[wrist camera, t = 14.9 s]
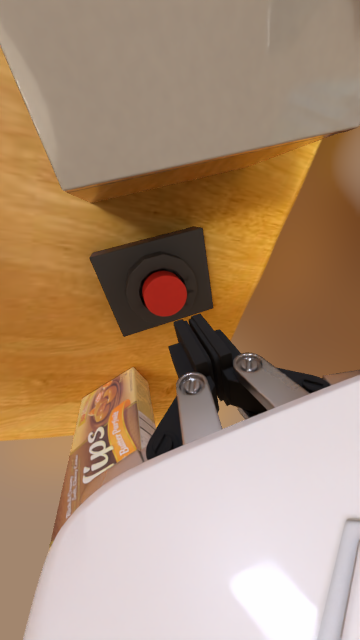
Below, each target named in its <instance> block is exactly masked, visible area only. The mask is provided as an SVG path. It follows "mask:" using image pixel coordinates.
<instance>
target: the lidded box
mask: <svg viewBox="0 0 360 640" xmlns="http://www.w3.org/2000/svg"><path fill="white" fill-rule="evenodd" d="M332 135H334V134H332ZM328 136H331V135H328ZM328 136H323V137H319V138H314V139H309V140H305V141H300V142H296V143H291V144H287V145H282V146H277V147H273V148H268V149H264V150H259V151H255V152H250V153H245V154H241V155H236V156H232V157H227V158H223V159H218V160H213V161H209V162H204V163H200V164H195V165H190V166H186V167H181V168H177V169H172V170H168V171H163V172H158V173H154V174H149V175H145V176H140V177H136V178H131V179H126V180H122V181H117V182H113V183H108V184H104V185H99V186H94V187H90V188H85V189H81V190H76V191H71V192H67V193H69V194H71V195H73V196H76V197H78V198H80V199H83V200H85V201H87V202H90V203H94V202H99V201H103V200H107V199H112V198H116V197H121V196H125V195H129V194H134V193H138V192H142V191H147V190H151V189H155V188H160V187H164V186H169V185H173V184H177V183H182V182H186V181H190V180H195V179H199V178H203V177H208V176H212V175H217V174H221V173H225V172H230V171H234V170H238V169H243V168H246V167H249V166H252V165H254V164H257V163H260V162H262V161H265V160H268V159H270V158H273V157H276V156H278V155H281V154H284V153H286V152H289V151H292V150H294V149H297V148H299V147H302V146H305V145H307V144H310V143H313V142H315V141H318V140H321V139H323V138H326V137H328Z"/></svg>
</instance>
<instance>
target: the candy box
mask: <svg viewBox="0 0 360 640" xmlns="http://www.w3.org/2000/svg"><path fill="white" fill-rule="evenodd" d="M155 430H156V427H155V421H154V414H153V408H152V403H151V397H150V391H149V384H148V382H147V381H146V380H145V379H144V377H143V376H142V375H141V374H140V373H139V372H138V371H137V370H136V369H135V368H134V367H132V368H131V369H129V370H127V371H126V372H124V373H122V374H121V375H119V376H118V377H116V378H115V379H113V380H111V381H109V382H108V383H106V384H105V385H103V386H101V387H100V388H98V389H97V390H95V391H93V392H92V393H90V394H89V395H87V396H85V397H84V398H82V401H81V406H80V411H79V415H78V420H77V424H76V429H75V433H74V438H73V443H72V447H71V452H70V456H69V461H68V465H67V470H66V474H65V479H64V483H63V488H62V493H61V497H60V502H59V506H58V511H57V516H56V520H55V524H54V529H53V534H52V538H51V543H50V547H49V550H50V548H51V545H52V543H53V541H54V539H55V537H56V535H57V534H58V532H59V531H60V529H61V527H62V526H63V525H64V523H65V522H66V521H67V519H68V518H69V517H70V516H71V515H72V514H73V513H74V511H75V510H76V509H77V508H78V507H79V502H80V497H81V495H82V492H83V490H84V489H85V487H86V486H87V484H88V483H89V482H90V481H91V480H92V479H94V478H95V477H96V476H98V475H99V474H101V473H102V472H104V471H105V470H107V469H108V468H110V467H111V466H113V465H114V464H116V463H117V462H119V461H120V460H122V459H123V458H125V457H126V456H128V455H129V454H131V453H132V452H134V451H135V450H137V449H139V450H141V449H143V448H144V447H146V446H147V444H148V442H149V440H150V438H151V436H152V435H153V433H154V431H155Z"/></svg>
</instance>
